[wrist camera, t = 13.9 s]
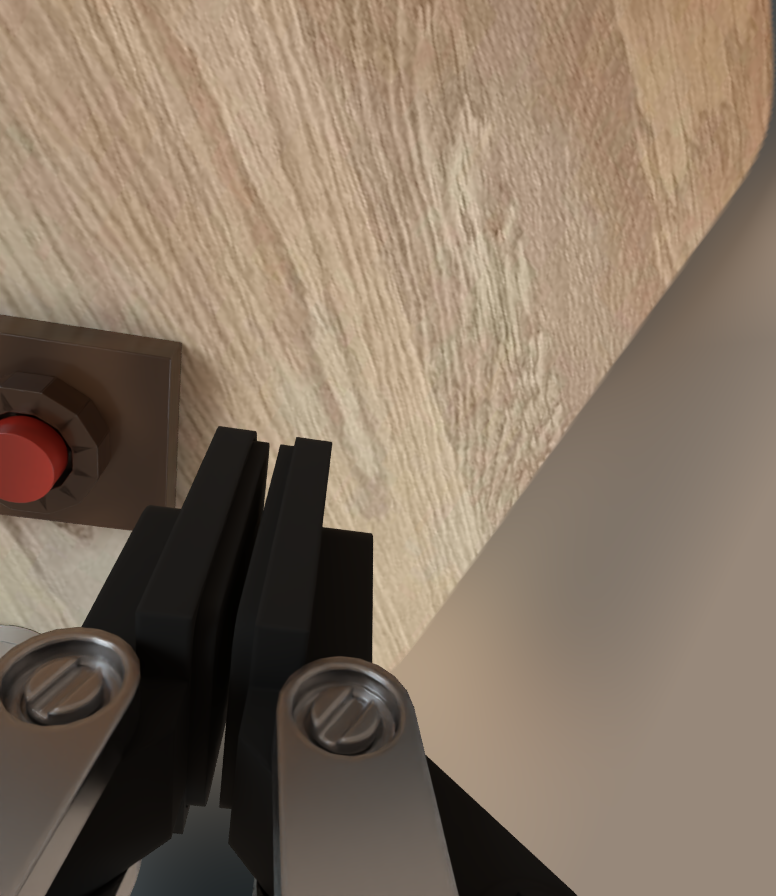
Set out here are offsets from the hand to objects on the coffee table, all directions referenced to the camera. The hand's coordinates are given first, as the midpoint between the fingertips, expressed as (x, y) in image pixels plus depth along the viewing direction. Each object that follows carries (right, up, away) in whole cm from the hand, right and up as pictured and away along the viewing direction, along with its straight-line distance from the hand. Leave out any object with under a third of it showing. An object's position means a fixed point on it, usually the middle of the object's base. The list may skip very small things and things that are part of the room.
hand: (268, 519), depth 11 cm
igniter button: (-15, +1, +22) cm, 26 cm away
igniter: (-15, +3, +25) cm, 29 cm away
